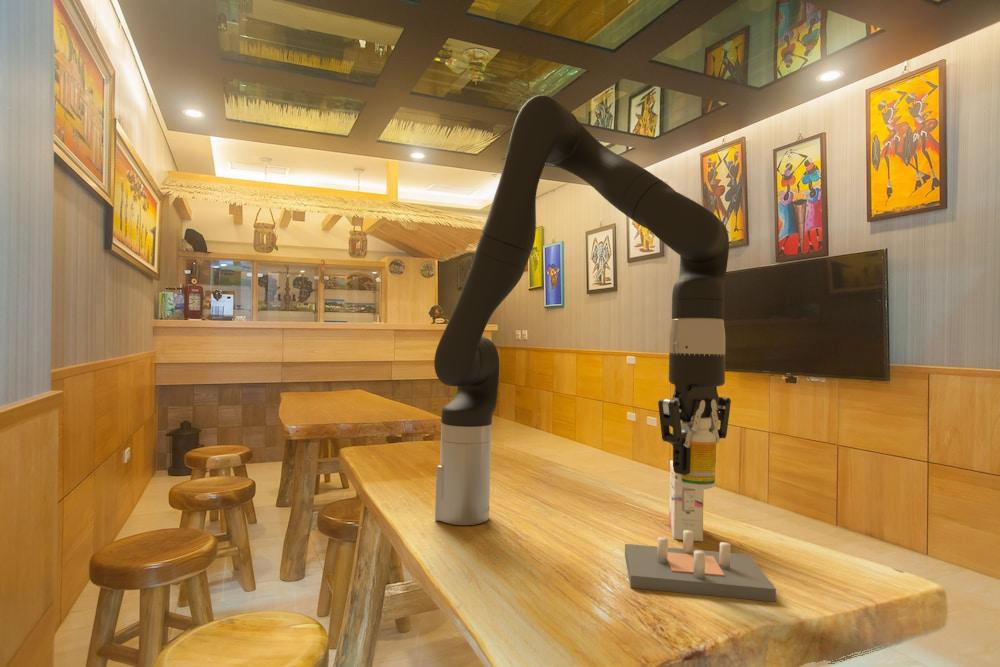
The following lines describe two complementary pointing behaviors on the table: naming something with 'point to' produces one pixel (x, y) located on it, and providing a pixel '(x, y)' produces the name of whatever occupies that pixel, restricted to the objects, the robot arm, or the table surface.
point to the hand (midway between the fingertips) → (694, 470)
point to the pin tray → (696, 571)
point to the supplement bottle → (700, 458)
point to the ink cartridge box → (685, 509)
